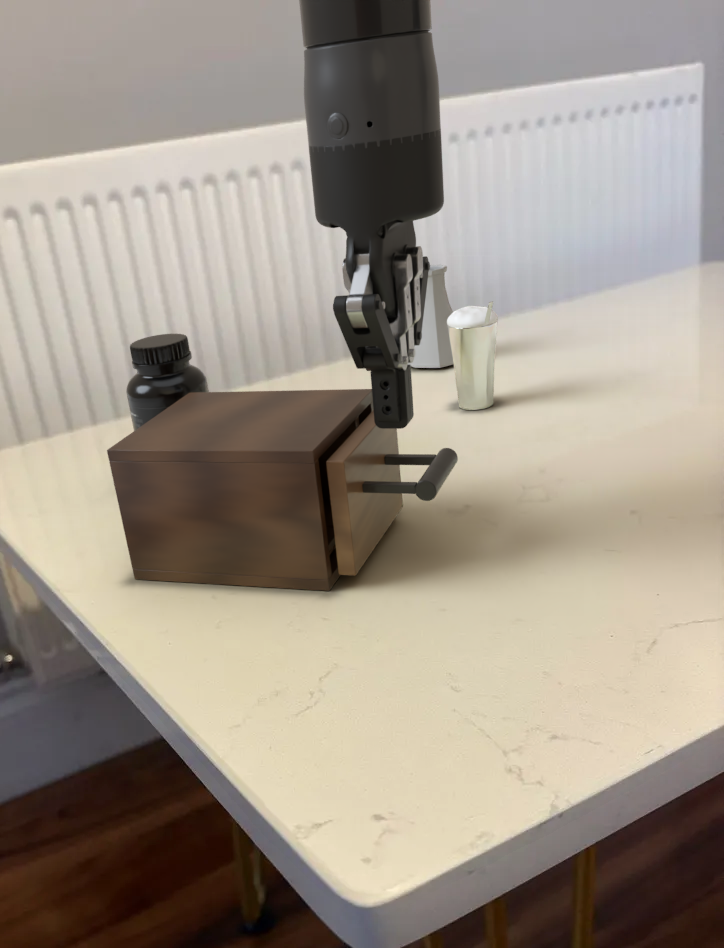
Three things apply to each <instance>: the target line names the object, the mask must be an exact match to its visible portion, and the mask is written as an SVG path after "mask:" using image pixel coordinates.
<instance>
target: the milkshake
mask: <svg viewBox="0 0 724 948" xmlns="http://www.w3.org/2000/svg"><path fill="white" fill-rule="evenodd" d="M493 305H494V301H489V302H488V304H487V306H479V305H467V306H463V307H460V308H459V309H455V310H454V311H453V313H452V314H451V315H450V316H449V317H448V319H447V325H448V332H449V338H450V344H451V350H452V356H453V363H454V364H453V371H454V378H455V386H456V387H455V388H456V393H457V402H458V408H460V409H463V410H466V411H478V410H484V409H488V408H489V407H492V406H493V405H494V395H495V394H494V391H495V389H494V388H495V363H496V349H497V337H498V321H499V316H498V314H497V312H495V311H494V310H493Z"/></svg>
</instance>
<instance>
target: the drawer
mask: <svg viewBox="0 0 724 948" xmlns="http://www.w3.org/2000/svg"><path fill="white" fill-rule="evenodd" d="M399 451H400V450H399V439H398V429H382V428H379V427H377V426H376V424H375V422H374V410H373V411H372V412H371V413H370V414H369V415H368V416H367V418H366V419H365V420H364V421H363V422H362V423H361V424H360V425H359V416H358V417H357V418H356V419H355V420H354V421H353V422H352V423H351V424H350V425H349V427H348V428H347V429H346V430H345V431H344V432H343V433H342V434H341V435H340V436H339V437H338V438H337V439H336V440H335V441H334V442H333V444H332V445H331V446H330V447H329V448H328V449H327V450H326V451H325V452H324V453H323V454H322V455H321V456H320V457H319V458H318V461H319V470H320V478H321V486H322V495H323V503H324V512H325V520H326V529H327V537H328V546H329V554H331V553H332V552H333V550H334V549H335V548H336V554H337V563H338V572H339V575H340V576H353V577H354V576H357V574H358V573H359V572H360V570H361V569H362V567H363V566H364V564H365V563H366V561H367V560H368V558H369V557H370V555H371V554H372V552H373V551H374V550H375V548H376V547H377V545H378V544H379V543H380V541H381V540H382V538H383V536H384V535H385V533H386V532H387V531H388V529H389V528H390V527H391V525H392V523H393V522H394V520H395V519H396V517H397V516H398V515H399V513H400V512H401V510H402V509H403V507H404V500H403V494H405V495H406V494H407V495H415V496H416V497H417V498H418V499H419V500H421V501H424V502H430V501H433V500H434V499H435V498H436V496H437V495H438V493H439V492H440V490H441V489H442V487H443V485H444V483H445V482H446V480H447V479H448V477H449V475H450V474H451V472H452V471H453V469H454V468H455V466H456V464H457V463H458V460H459V459H458V454H457V452H456V451H455V450H454V449H452V448H450V447H444V448H441V449H440V450H439V451H438V453H437V454H435V453H434V454H433V453H432V454H428V453H427V454H426V453H424V454H423V453H422V454H420V453H417V454H416V453H399ZM401 466H428V467H427V468H426V470H425V471H424V472H423V474H422V476H421V477H420V479H419V480H418V482H417V481H402V478H401V477H402V476H401Z"/></svg>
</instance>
